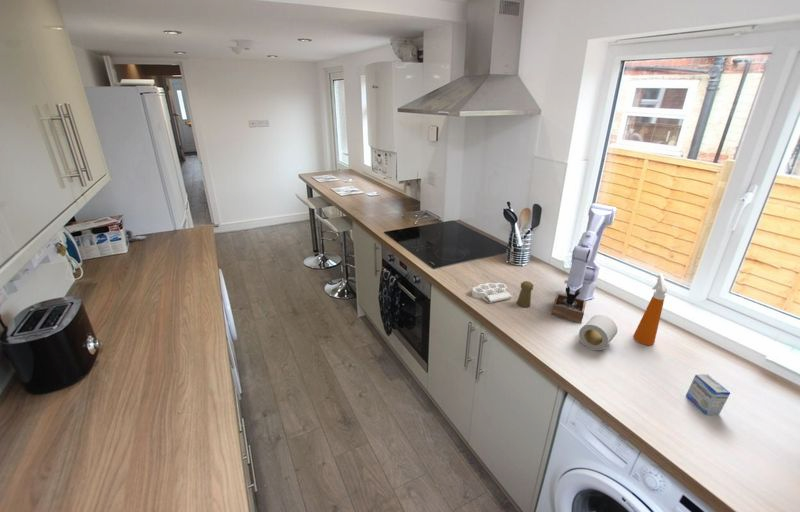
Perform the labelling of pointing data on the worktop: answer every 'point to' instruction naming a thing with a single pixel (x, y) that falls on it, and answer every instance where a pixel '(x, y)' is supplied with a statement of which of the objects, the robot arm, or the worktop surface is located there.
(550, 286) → the worktop surface
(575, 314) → the frame
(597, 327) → the toilet paper
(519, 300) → the brown tapered figure
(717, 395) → the medicine box
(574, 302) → the plunger
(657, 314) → the spray bottle
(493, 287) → the knuckle duster
